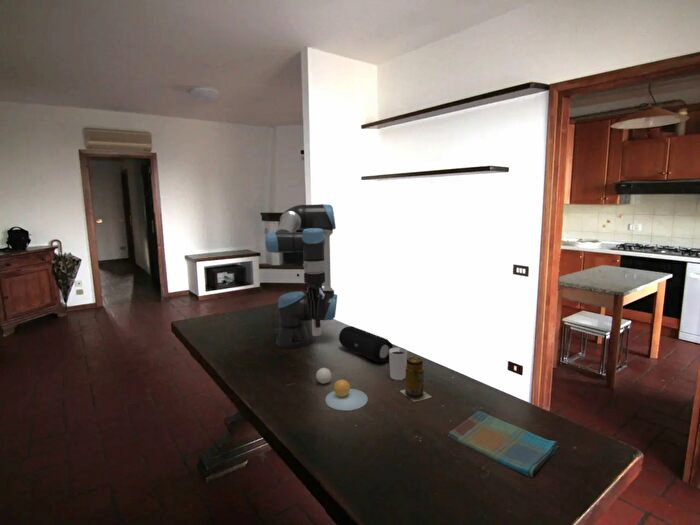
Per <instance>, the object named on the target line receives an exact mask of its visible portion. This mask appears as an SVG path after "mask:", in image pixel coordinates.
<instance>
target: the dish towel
mask: <svg viewBox="0 0 700 525" xmlns="http://www.w3.org/2000/svg"><path fill="white" fill-rule="evenodd" d="M447 437H448V438H449V439H451V440H452V441H455V442H456V443H458V444H460V445H463V446H464V447H467V448H468V449H469V448H470V449H471V450H473V451H474V452H477V453H479V454H481V455H482V456H483V455H484V456H485V457H487V458H489V459H491V460H492V461H494V462H497V463H498V464H500V465H502V466H504V467H507V468H509V469H511V470H513V471H515V472H517V473H520V474H522V475H524V476H526V477H530V478H534V475H535V474H536V472H537V471H538V470H540V468H541V467H542V465H543V464H544V463H546V462H547V461H548V460H549V458H551V457H552V456H553V455H555V453H556V452H557V451H558V448H560V446H559V445H557V440H556V441H555V440H549V439H546V438H544V437H542V436H540V435H537V434H534V433H532V432H530V431H528V430H526V429H524V428H522V427H519V426H516V425H514V424H511V423H509V422H506V421H505V420H501V419H499V418H497V417H494V416H492V415H490V414H487V413H485V412H484V411H482V410H477V411H476V412H474V413H473V414H472V415H470V416H469V417H468V418H466V419H465V420H464V421H462V422H461V423H460V424H459V425H457V426H456V427H455V428H453V429H452V430H450V431H448V434H447Z"/></svg>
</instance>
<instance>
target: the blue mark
mask: <svg viewBox="0 0 700 525" xmlns="http://www.w3.org/2000/svg"><path fill="white" fill-rule="evenodd" d="M368 400H369V398H368V396H367V394H366V393H365V392H363V391H361V390H359V389H356V388H350V391H349V393H348V394H347V395H346V396H344V397H340V396H338V395H336V393H335V392H334V390H333V391H330V392H329V393H327V394H326V396H325V404H326V405H327V407H329V408H330V409H334V410H337V411H345V412H347V411H355V410H359V409H360V408H362V407H364V406H365V405H367V403H368Z"/></svg>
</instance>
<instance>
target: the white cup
mask: <svg viewBox="0 0 700 525" xmlns="http://www.w3.org/2000/svg"><path fill="white" fill-rule="evenodd" d="M407 359H408V349H406V348H404V347H397V346H396V347H393V348H391V349H390V350H389V360H388V362H389V375H390V376H389V377H390V378H391V379H392V380H394V381H402V380H404V379H406V378H405V377H406V366H407Z"/></svg>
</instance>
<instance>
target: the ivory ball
mask: <svg viewBox="0 0 700 525" xmlns="http://www.w3.org/2000/svg"><path fill="white" fill-rule="evenodd" d="M315 378H316V381H317V382H318V383H320V384H322V385H325V384H327V383H329V382H330V381H331V380H332V372H331V370H330V369H329V368H327V367H320V368H319V369H318V370H317V372H316V373H315Z"/></svg>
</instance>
